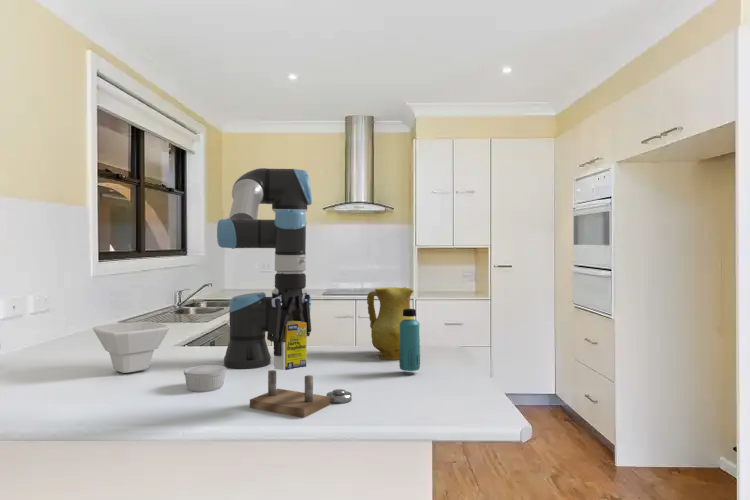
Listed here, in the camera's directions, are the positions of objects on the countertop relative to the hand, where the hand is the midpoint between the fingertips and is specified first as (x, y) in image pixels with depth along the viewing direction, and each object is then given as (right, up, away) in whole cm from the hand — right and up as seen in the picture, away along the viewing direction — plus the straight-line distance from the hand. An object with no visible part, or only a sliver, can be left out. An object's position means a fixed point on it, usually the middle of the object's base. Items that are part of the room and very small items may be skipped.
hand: (290, 365), depth 129 cm
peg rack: (0, -10, 0) cm, 10 cm away
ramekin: (-26, -10, +17) cm, 33 cm away
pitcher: (+28, -10, +59) cm, 66 cm away
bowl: (-55, -10, +35) cm, 66 cm away
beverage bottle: (+32, -10, +34) cm, 47 cm away
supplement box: (0, 0, 0) cm, 0 cm away
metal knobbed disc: (+12, -10, +5) cm, 16 cm away
